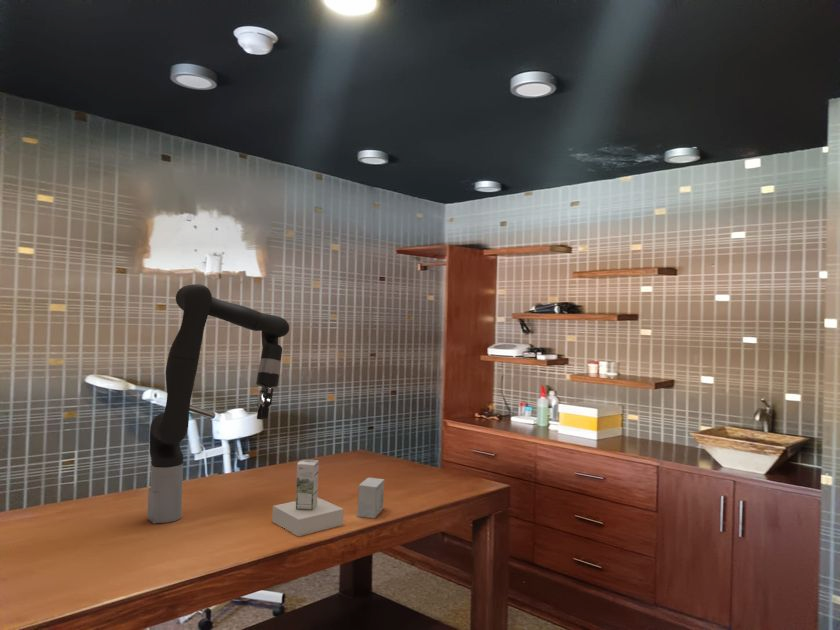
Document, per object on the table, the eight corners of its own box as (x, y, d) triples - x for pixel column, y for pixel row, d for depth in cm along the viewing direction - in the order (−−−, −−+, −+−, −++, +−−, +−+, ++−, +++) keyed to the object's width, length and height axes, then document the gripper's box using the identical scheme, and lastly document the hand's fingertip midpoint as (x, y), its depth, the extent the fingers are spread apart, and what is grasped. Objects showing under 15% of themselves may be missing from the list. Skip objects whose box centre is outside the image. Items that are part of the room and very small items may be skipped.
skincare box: (375, 518, 186) (376, 486, 186) (356, 517, 187) (357, 484, 188) (384, 509, 196) (384, 478, 197) (366, 507, 198) (367, 476, 198)
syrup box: (317, 504, 183) (319, 459, 183) (313, 510, 177) (314, 463, 177) (300, 504, 183) (301, 458, 184) (295, 509, 177) (296, 463, 178)
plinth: (298, 536, 169) (298, 519, 169) (272, 521, 181) (272, 505, 181) (343, 524, 180) (343, 508, 180) (315, 511, 191) (316, 496, 191)
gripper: (254, 373, 208) (247, 418, 203) (261, 369, 195) (254, 416, 191) (275, 376, 211) (269, 420, 206) (283, 372, 198) (276, 419, 194)
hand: (261, 418), depth 199 cm, fingers open, 8 cm apart
